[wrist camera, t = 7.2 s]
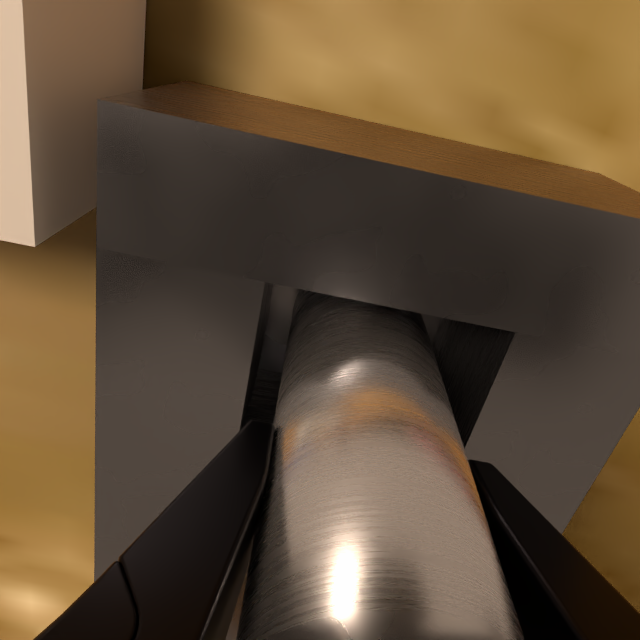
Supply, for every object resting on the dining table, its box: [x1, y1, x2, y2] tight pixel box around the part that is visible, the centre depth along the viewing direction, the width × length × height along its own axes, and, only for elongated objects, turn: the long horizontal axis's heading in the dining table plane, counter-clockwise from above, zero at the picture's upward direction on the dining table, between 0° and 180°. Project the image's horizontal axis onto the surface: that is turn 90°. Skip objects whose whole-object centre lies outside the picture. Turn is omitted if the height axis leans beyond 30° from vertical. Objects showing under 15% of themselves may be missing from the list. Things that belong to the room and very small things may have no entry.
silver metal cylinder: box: [236, 289, 525, 640], centre depth 9 cm, size 3×3×9 cm
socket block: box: [94, 81, 640, 640], centre depth 14 cm, size 16×10×5 cm, turn 168°
